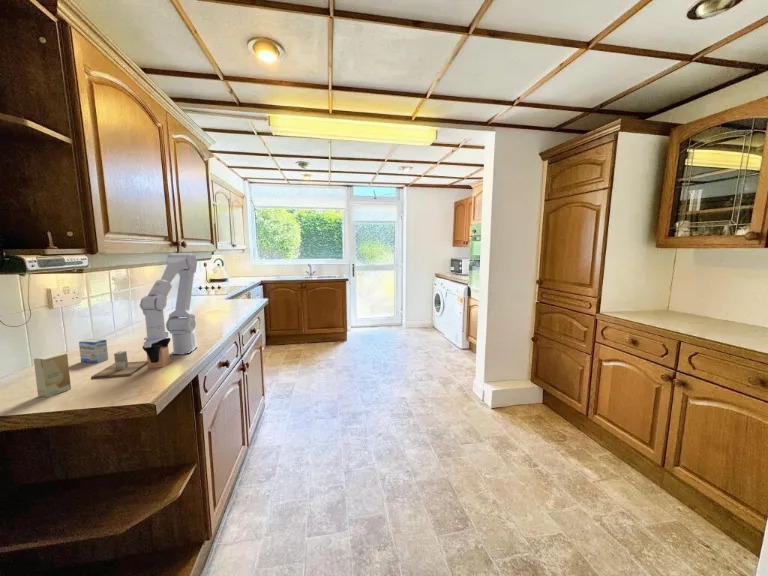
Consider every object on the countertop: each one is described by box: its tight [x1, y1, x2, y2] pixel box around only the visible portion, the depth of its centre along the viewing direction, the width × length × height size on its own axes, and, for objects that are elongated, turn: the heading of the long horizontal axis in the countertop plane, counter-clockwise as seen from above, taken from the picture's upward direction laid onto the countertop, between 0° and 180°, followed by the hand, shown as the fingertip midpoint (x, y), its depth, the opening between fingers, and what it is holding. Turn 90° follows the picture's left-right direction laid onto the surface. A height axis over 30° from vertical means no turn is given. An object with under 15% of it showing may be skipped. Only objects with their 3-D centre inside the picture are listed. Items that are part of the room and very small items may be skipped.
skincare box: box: [33, 352, 72, 398], centre depth 97 cm, size 6×4×12 cm
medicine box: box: [78, 338, 109, 364], centre depth 124 cm, size 8×4×9 cm, turn 84°
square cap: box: [146, 345, 170, 369], centre depth 120 cm, size 5×5×7 cm
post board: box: [90, 350, 148, 380], centre depth 115 cm, size 13×12×7 cm
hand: (158, 359), depth 120 cm, fingers open, 5 cm apart
